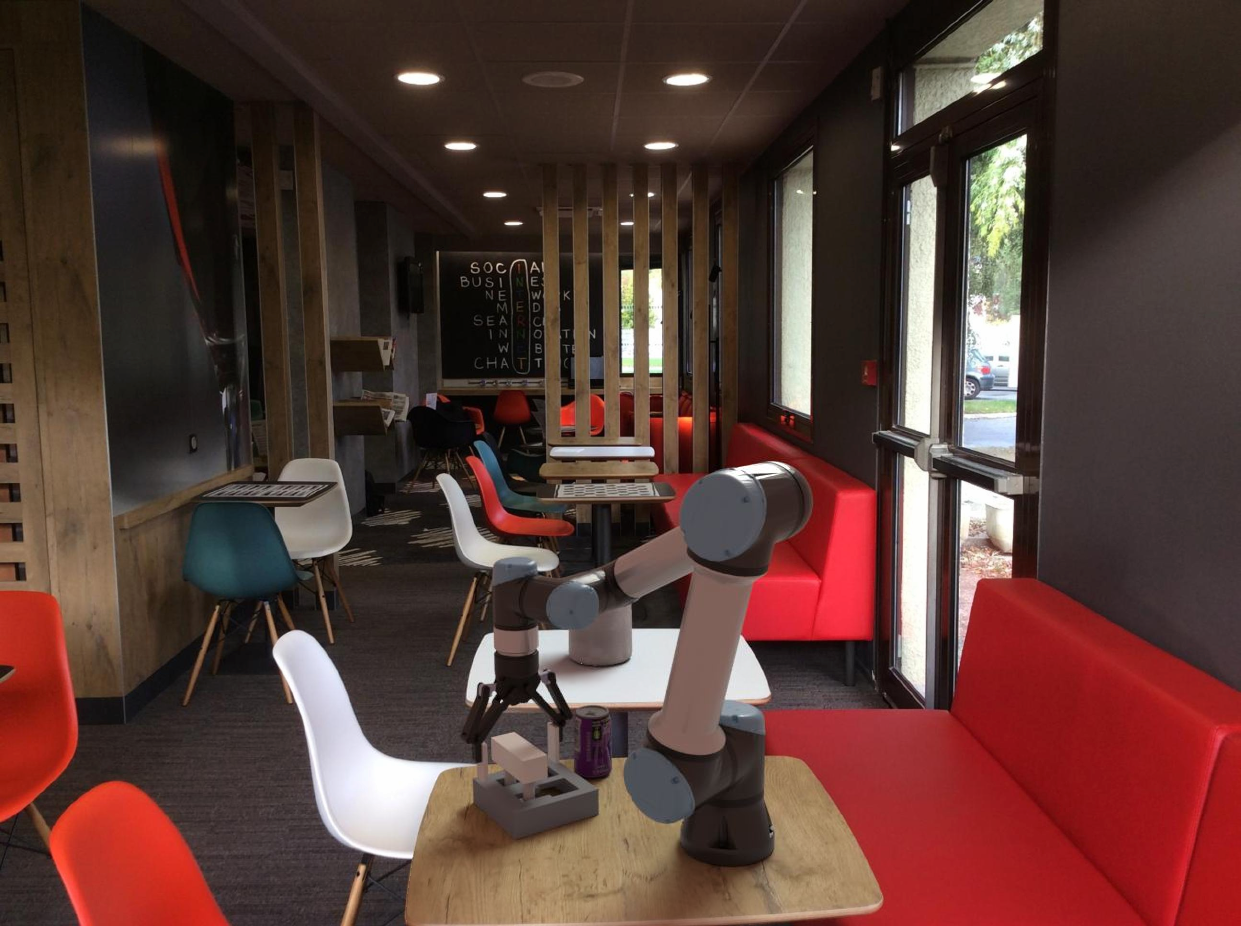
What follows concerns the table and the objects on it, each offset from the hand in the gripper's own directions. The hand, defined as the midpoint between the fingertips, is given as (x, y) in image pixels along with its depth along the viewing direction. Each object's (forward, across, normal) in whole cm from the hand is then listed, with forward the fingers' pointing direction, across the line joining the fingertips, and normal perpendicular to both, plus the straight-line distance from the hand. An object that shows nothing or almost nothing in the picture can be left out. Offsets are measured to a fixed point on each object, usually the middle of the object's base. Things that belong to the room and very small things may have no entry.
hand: (518, 769), depth 178 cm
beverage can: (+8, -19, -7) cm, 22 cm away
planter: (+8, -56, -64) cm, 85 cm away
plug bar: (+8, 0, 0) cm, 8 cm away
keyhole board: (+8, -3, 0) cm, 8 cm away
